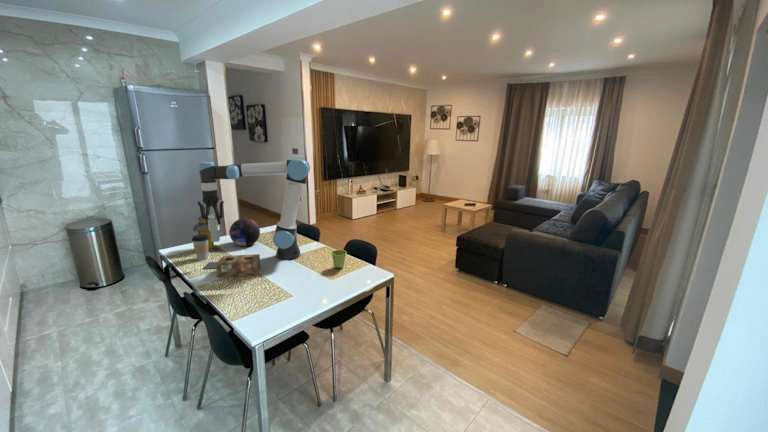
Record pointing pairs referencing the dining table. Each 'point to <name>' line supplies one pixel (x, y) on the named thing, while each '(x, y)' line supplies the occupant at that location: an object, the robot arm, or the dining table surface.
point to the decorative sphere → (244, 232)
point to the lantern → (204, 229)
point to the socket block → (238, 265)
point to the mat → (210, 265)
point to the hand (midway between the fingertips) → (214, 230)
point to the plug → (213, 228)
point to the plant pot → (338, 257)
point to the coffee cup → (201, 246)
